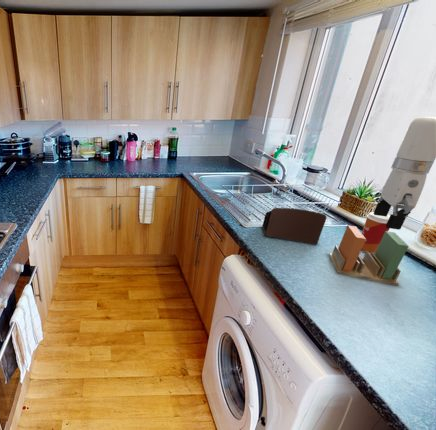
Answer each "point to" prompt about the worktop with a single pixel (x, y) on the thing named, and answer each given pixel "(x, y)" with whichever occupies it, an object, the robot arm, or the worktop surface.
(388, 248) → the green book
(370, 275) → the book rack
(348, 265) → the orange book
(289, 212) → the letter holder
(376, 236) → the coffee cup
